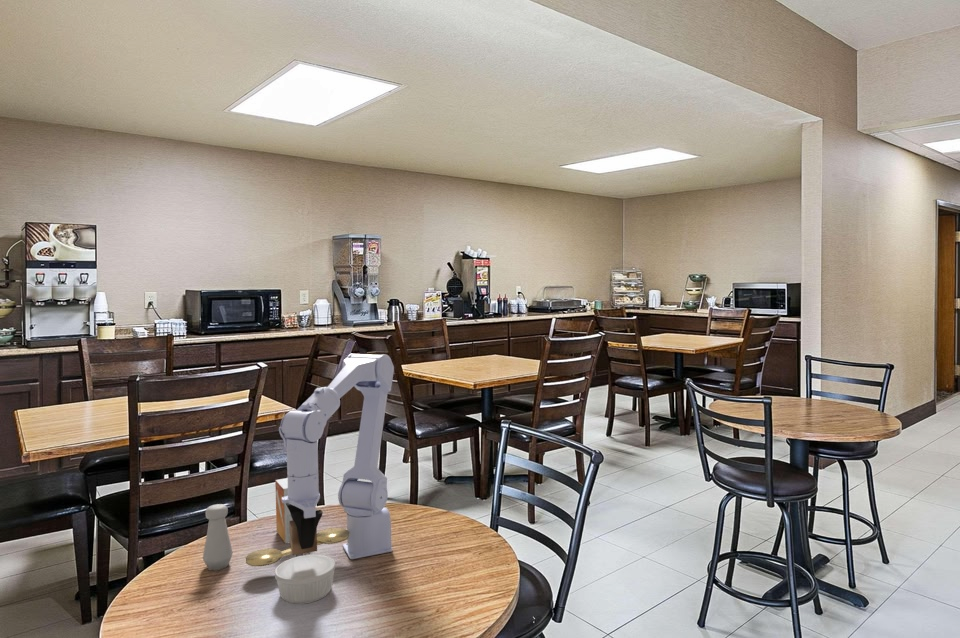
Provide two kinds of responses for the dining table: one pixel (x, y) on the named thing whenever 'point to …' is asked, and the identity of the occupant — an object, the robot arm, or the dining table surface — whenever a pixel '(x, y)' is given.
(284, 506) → the small box
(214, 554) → the salt shaker
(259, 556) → the balance
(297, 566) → the ramekin
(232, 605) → the dining table surface
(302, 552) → the block
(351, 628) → the dining table surface
